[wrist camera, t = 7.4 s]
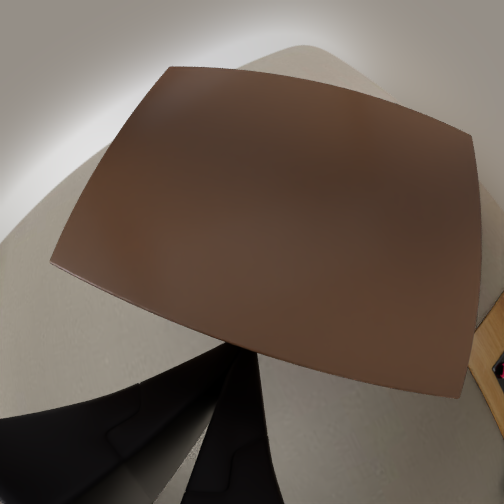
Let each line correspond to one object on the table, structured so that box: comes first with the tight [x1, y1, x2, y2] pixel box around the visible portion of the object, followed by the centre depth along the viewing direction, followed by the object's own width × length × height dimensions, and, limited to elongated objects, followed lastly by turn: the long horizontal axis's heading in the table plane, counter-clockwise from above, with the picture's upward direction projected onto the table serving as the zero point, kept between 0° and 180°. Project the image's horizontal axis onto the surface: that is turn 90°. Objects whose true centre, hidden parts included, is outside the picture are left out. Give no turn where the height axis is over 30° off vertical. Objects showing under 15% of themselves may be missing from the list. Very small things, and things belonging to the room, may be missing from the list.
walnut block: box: [50, 67, 482, 399], centre depth 12 cm, size 8×11×10 cm
